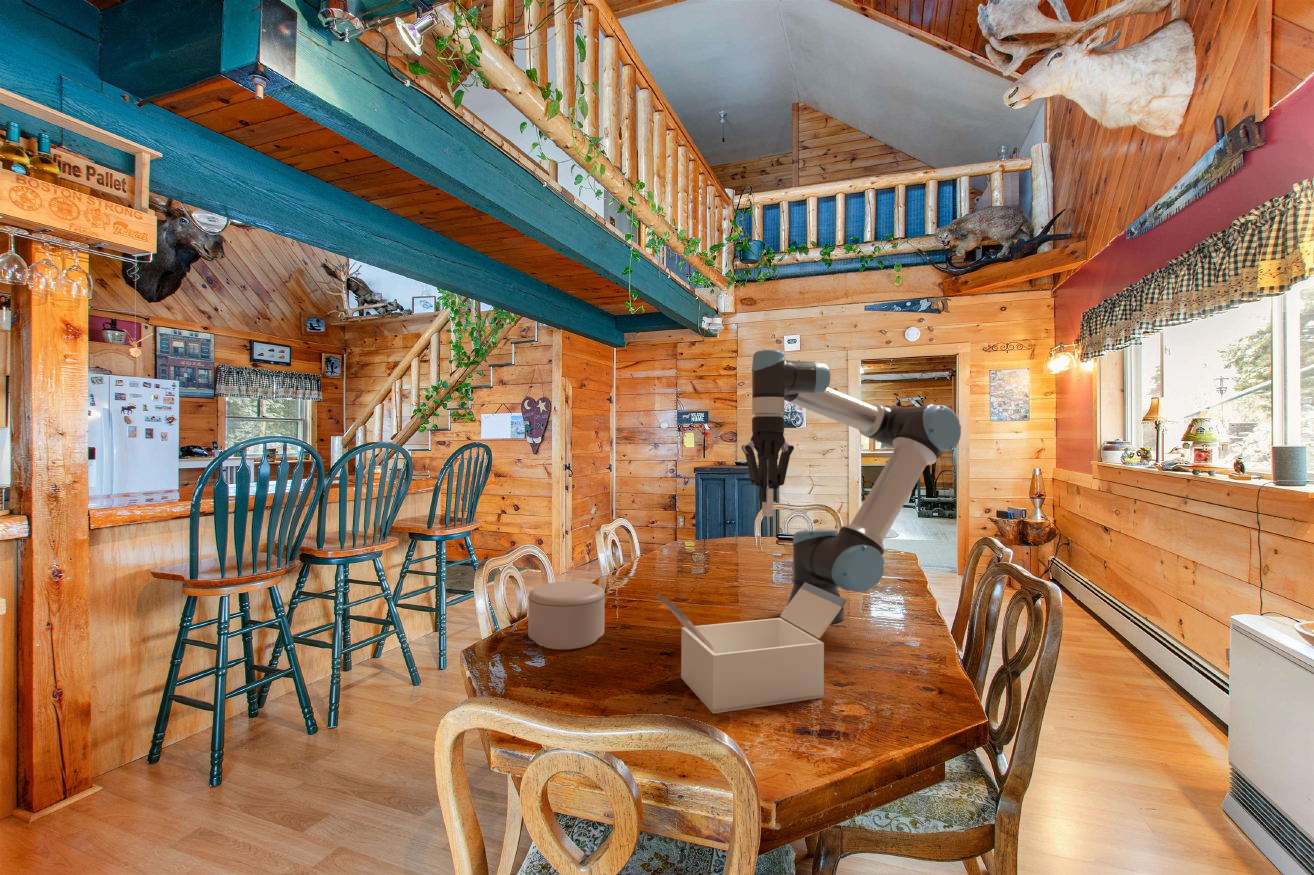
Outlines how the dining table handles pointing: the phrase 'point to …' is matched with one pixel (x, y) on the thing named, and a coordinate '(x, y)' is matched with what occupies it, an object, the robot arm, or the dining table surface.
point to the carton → (752, 664)
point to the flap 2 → (813, 609)
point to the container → (566, 614)
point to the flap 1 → (685, 621)
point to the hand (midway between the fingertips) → (767, 515)
